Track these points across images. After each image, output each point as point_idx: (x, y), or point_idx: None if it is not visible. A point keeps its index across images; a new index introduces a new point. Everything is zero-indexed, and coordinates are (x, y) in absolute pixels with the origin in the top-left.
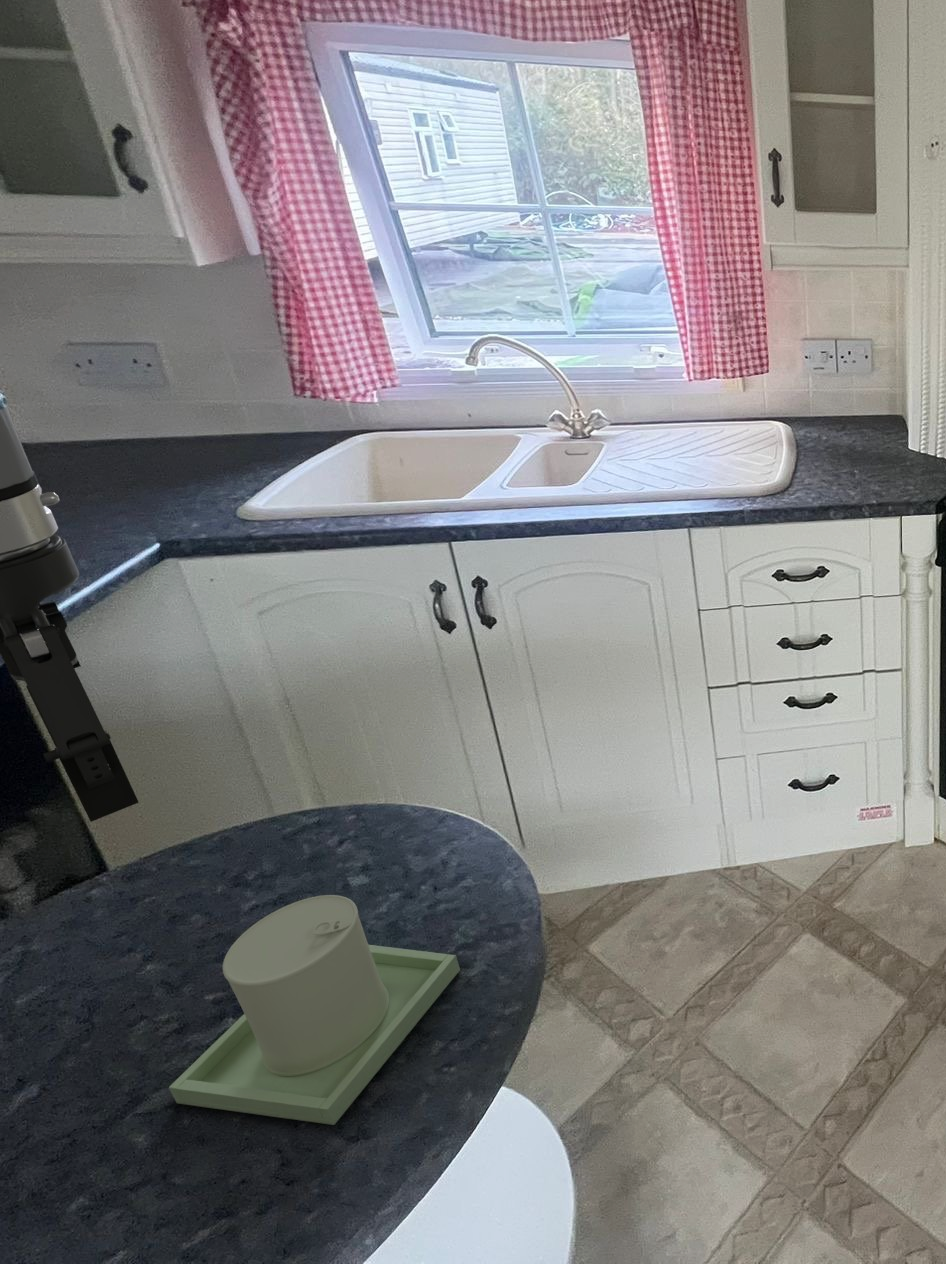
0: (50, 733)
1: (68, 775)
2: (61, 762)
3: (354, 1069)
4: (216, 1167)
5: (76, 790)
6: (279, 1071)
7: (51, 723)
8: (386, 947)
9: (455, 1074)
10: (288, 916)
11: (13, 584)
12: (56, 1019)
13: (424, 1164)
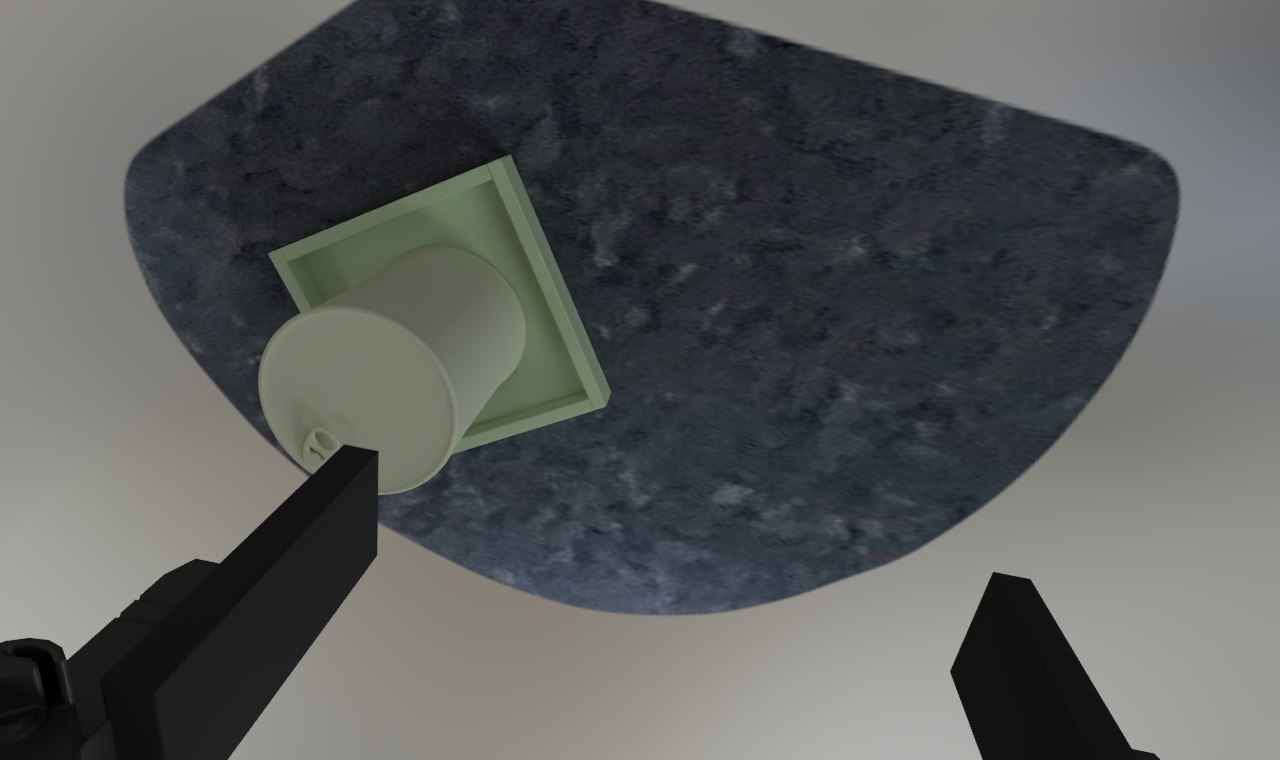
0: (1028, 639)
1: (201, 584)
2: (138, 642)
3: (304, 303)
4: (350, 137)
5: (261, 530)
6: (413, 252)
7: None
8: (494, 439)
9: (240, 358)
10: (421, 428)
11: None
12: (880, 123)
13: (144, 270)
